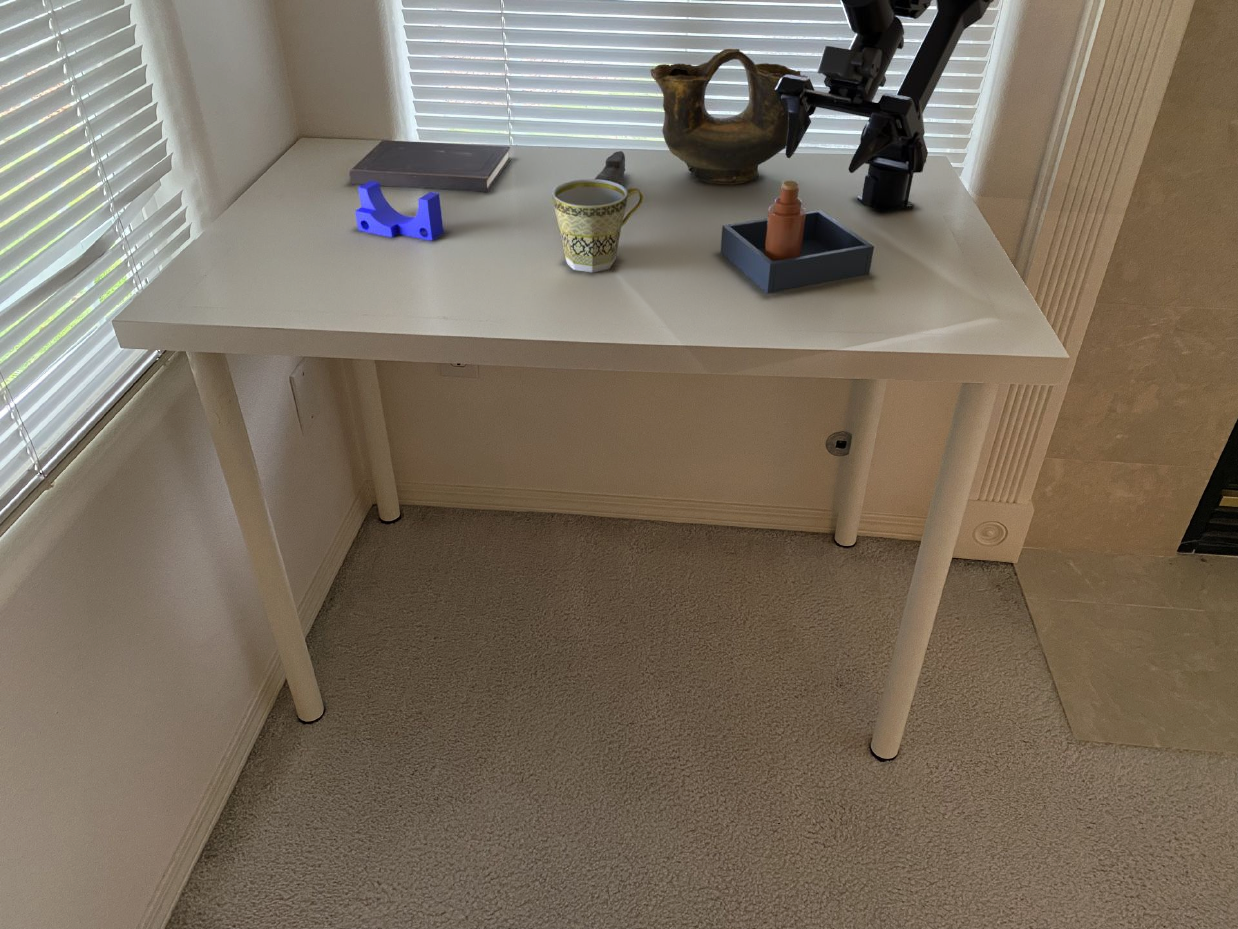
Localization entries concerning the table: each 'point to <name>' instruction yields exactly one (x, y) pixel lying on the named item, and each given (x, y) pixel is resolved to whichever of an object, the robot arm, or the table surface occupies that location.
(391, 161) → the hardcover book
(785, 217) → the bottle
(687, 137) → the pottery vessel
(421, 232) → the blue mounting bracket
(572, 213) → the ceramic cup
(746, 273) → the bin
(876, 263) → the table surface
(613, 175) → the hand tool
